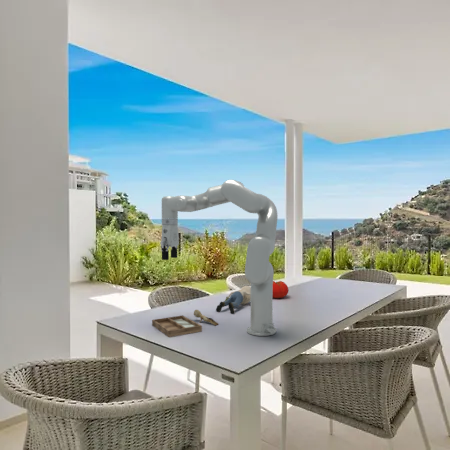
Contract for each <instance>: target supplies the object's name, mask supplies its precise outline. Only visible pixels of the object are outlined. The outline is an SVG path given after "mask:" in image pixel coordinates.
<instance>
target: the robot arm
mask: <svg viewBox="0 0 450 450" xmlns="http://www.w3.org/2000/svg"><path fill="white" fill-rule="evenodd" d="M227 203H232V204H233V205H236V206H237V207H238V208H239V209H241V210H243V211H245V212H247V213H249V214H256V215H258V219H257V223H256V230H255V236H253V237H252V238H251V239H250V240H249V243H248V245H247V249H246V256H245V265H244V266H245V267H244V275H245V279H246V280H247V282H248V283H249V284H250V287H251V296H250V302H249V303H250V326H249V327H247V328H246V332H247V334H249V335H252V336H258V337H266V336H267V337H268V336H273V335H275V334H276V333H277V329H278V328H276V327H274V326H275V325H274V324H275V323H274V322H273V297H272V296H273V281H274V276H275V275H274V273H275V271H274V267H273V265H272V263H271V261H270V255H272V254H273V253H274V251H275V245H276V238H277V237H276V235H277V226H278V210H277V206H276V204H275V202H273V201H272V200H271V199H270V198H269V197H268V196H265V195H263V194H261V193H256V192H254V191H252V190H251V189H249V188H247V187H245V185H244V184H243V183H242V181H238V180H236V179H228V180H225V181H224V182H223V183H221V184H220V185H215V186H212V187H211V186H210V187H208V188H207V190H206V191H205V192H203V193H202V192H201V193H198V194H195V195H191V196H190V195H175V196H172V195H170V196H168V195H167V196H163V197H162V198H161V241H160V248H161V251H160V252H161V260H162V261H168V260H169V258H171V259H177V258H178V249H179V248H178V246H179V245H180V243H179V242H180V241H179V239H180V238H179V229H178V228H179V227H178V226H179V224H178V223H179V222H178V221H179V220H178V219H179V218H178V217H179V215H178V214H179V213H180V212H181V213H182V212H183V213H192V212H198V211H200V210H202V211H203V210H206V209H209V208H213V207H215V206H220V205H222V204H223V205H224V204H227ZM178 212H179V213H178ZM169 249H170V255H169ZM169 256H170V257H169Z"/></svg>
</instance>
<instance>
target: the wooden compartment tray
mask: <svg viewBox="0 0 450 450" xmlns="http://www.w3.org/2000/svg"><path fill="white" fill-rule="evenodd" d="M151 325H152V327H154V328H155V329H156V330H158V331H159V332H161V333H163V335H165V336H166V337H168V338H172V337H179V336H183V335H189V334H194V333H201V332H202V331H203V325H201V324H199V323H198V322H196V321H193V320H192V319H190V318H188V317H186V316H184V315H179V316H177V315H176V316H169V317H163V318H162V317H161V318H156V319H152V320H151Z"/></svg>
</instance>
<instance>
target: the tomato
mask: <svg viewBox="0 0 450 450" xmlns="http://www.w3.org/2000/svg"><path fill="white" fill-rule="evenodd" d="M288 294H289V287H288V285H287V283H285V282H284V281H283V280H279V281H274V280H273V296H272V299H282V298H285V297H286V296H287V295H288Z"/></svg>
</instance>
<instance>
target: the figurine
mask: <svg viewBox="0 0 450 450" xmlns="http://www.w3.org/2000/svg"><path fill="white" fill-rule="evenodd" d="M193 316H194V317H196V318H200V319H199V320H200V321H199V323H202V321H203V322H206V323H210V324H211V325H213V326H215V327H216V326H219V323H218V322H217V321H215V320H214V319H213V318H211V317H208V316H206V315H204V314H202V313H201V311H200V310H199V309H195V310H194V311H193Z"/></svg>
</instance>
